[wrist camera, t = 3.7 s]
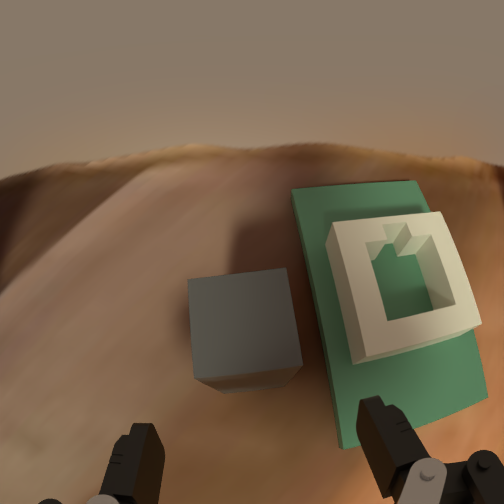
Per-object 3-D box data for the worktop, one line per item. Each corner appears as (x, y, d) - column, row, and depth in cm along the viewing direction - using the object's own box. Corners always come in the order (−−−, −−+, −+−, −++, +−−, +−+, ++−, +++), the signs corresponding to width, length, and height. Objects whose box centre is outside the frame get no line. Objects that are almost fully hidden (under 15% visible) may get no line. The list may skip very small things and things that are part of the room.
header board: (339, 447, 18) (356, 454, 14) (290, 198, 27) (294, 164, 23) (479, 398, 18) (512, 391, 14) (411, 188, 28) (427, 158, 24)
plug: (224, 393, 20) (194, 378, 11) (217, 325, 22) (187, 261, 13) (284, 386, 20) (303, 365, 11) (274, 319, 22) (282, 250, 13)
